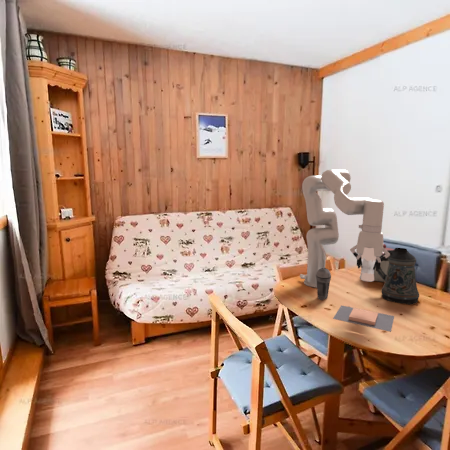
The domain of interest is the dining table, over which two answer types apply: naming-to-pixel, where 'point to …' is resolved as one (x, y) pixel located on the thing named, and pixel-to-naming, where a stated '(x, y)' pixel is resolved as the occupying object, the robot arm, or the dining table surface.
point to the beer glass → (368, 264)
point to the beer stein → (400, 277)
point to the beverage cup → (323, 282)
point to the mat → (381, 323)
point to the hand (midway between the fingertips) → (368, 268)
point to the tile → (363, 316)
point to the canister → (382, 267)
